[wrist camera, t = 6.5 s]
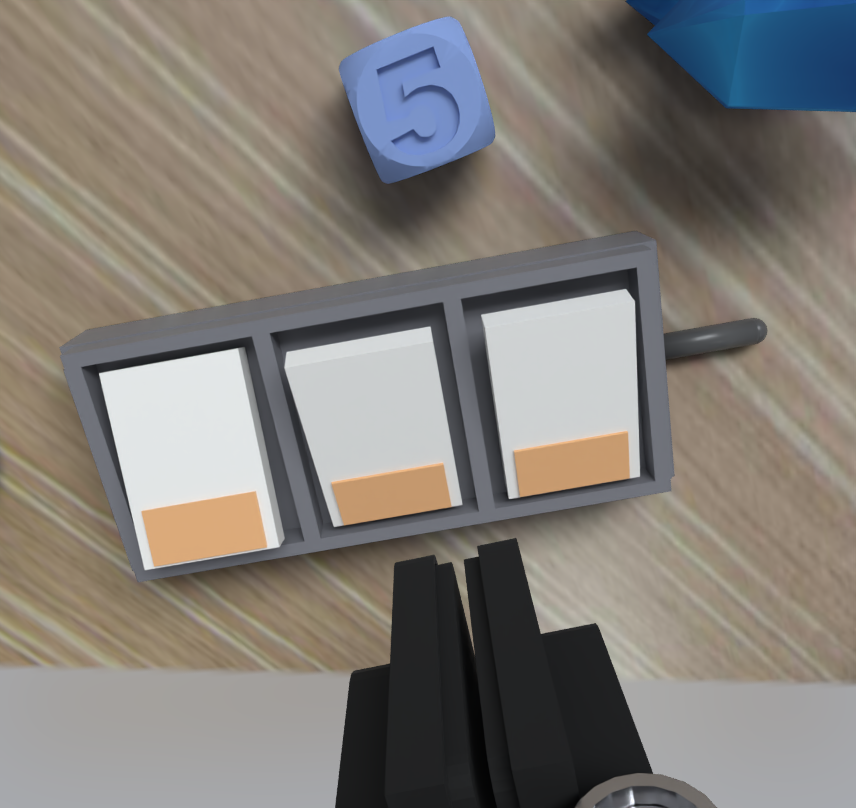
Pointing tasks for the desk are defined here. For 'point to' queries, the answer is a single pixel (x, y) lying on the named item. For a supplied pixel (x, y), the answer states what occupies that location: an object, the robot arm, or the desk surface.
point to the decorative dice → (418, 99)
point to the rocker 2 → (565, 392)
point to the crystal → (762, 50)
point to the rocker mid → (376, 425)
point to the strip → (458, 369)
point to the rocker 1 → (193, 458)
